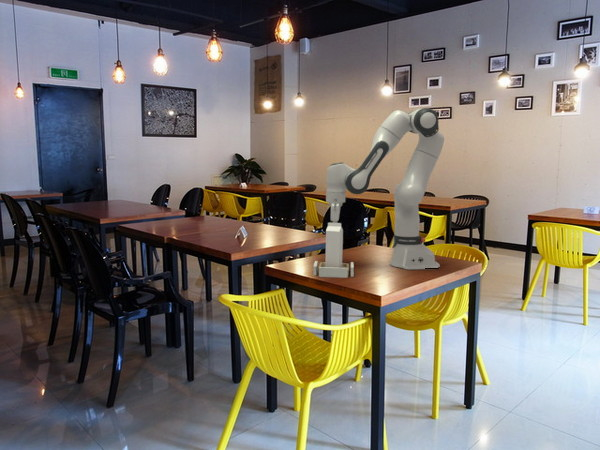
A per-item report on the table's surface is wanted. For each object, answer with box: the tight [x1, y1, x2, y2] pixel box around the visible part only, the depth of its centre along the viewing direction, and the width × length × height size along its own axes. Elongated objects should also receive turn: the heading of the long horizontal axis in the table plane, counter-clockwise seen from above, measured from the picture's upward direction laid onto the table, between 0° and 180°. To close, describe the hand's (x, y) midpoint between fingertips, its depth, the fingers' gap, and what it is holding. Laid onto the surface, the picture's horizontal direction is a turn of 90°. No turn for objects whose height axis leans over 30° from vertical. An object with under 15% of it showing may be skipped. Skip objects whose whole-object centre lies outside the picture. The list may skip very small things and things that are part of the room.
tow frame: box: [317, 261, 350, 278], centre depth 219 cm, size 13×25×4 cm, turn 175°
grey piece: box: [312, 260, 355, 279], centre depth 211 cm, size 17×12×4 cm
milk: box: [325, 222, 344, 268], centre depth 212 cm, size 6×6×22 cm
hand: (334, 228), depth 226 cm, fingers closed
